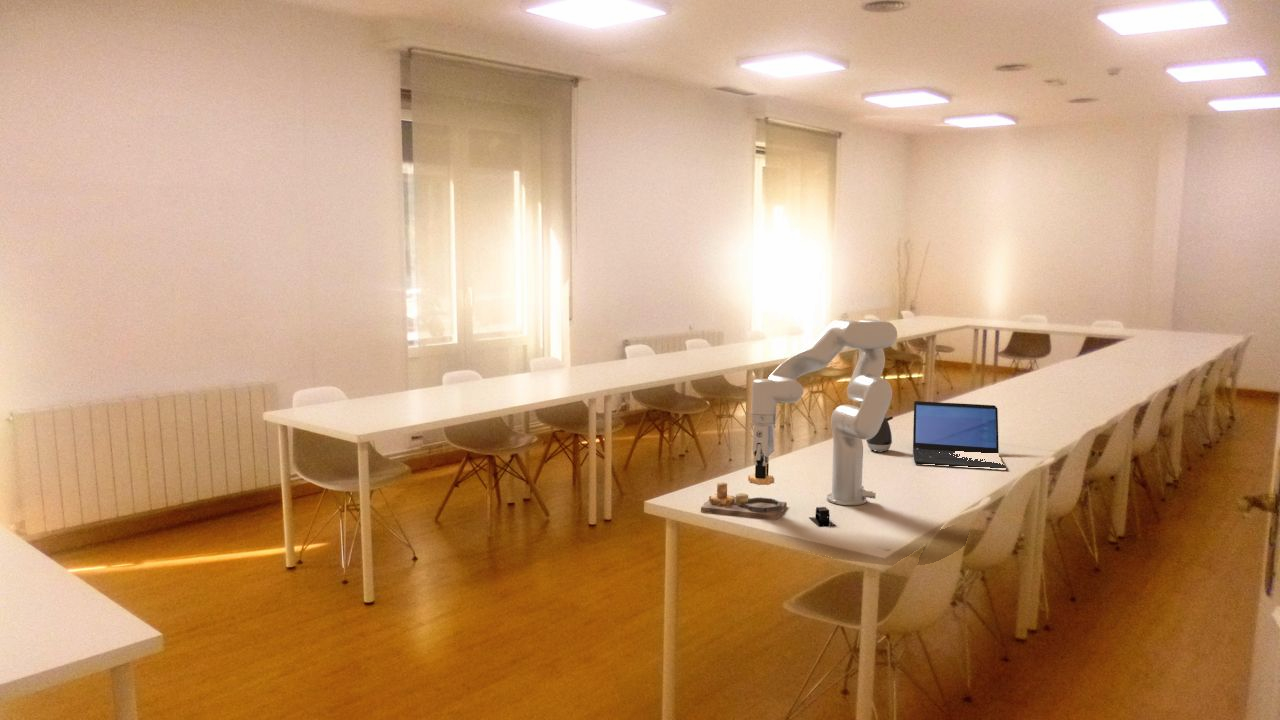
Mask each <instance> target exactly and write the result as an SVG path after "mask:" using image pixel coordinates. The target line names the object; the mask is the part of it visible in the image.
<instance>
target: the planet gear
mask: <svg viewBox="0 0 1280 720" xmlns="http://www.w3.org/2000/svg"><path fill="white" fill-rule="evenodd" d="M765 466H766V478H765V479H761V478H755V473H752V474H751V475H750V474H749V475H748V476H747V481H748V482H749V484H754V485H756V486H765V485H766V486H770V485H771V484H775V477H774V476H773V475H772V474H771V475H770V474H768V476H767V463H766V462H765Z"/></svg>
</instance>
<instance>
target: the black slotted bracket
mask: <svg viewBox="0 0 1280 720" xmlns="http://www.w3.org/2000/svg"><path fill="white" fill-rule="evenodd" d="M830 515H831V514H830V510H829V509H828V508H827V506H820V507H819V506H816V509H815V516H814V517H813V516H812V517H808V519H809V520H810V521H812V522H813V524H815V525H816V526H817V527H818V528H827V527H828V528H829V527H837V525H836V524H835V523H834V522H832V521H831V520H830Z"/></svg>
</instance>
